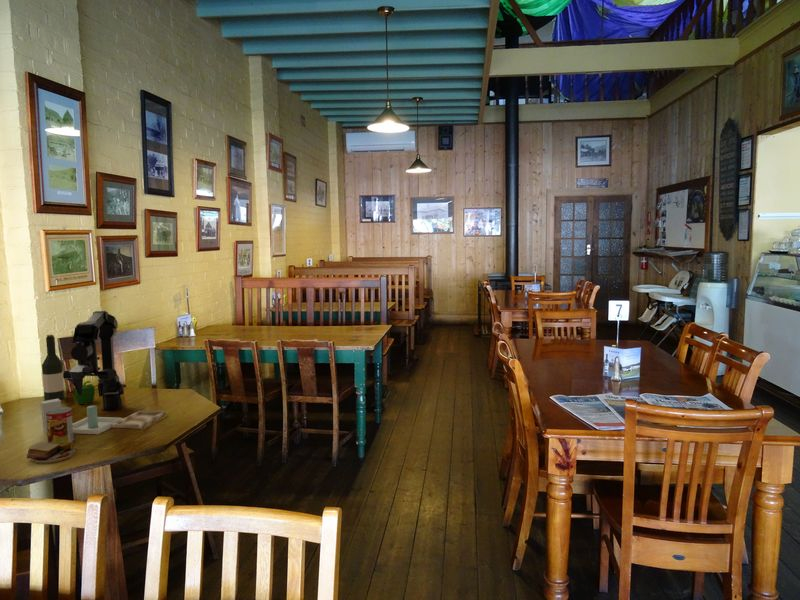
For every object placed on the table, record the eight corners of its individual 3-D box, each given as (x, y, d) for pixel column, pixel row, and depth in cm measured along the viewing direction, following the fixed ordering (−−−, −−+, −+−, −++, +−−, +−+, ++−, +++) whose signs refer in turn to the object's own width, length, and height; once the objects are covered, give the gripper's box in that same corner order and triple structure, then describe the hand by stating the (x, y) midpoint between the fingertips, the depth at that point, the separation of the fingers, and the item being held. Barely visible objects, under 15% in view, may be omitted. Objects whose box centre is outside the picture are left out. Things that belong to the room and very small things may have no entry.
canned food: (50, 440, 207) (47, 408, 206) (75, 437, 210) (72, 406, 209) (46, 447, 200) (44, 414, 198) (72, 444, 203) (69, 411, 201)
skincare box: (60, 428, 221) (58, 398, 220) (63, 430, 218) (61, 400, 217) (42, 432, 217) (40, 401, 215) (45, 434, 214) (43, 403, 212)
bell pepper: (72, 406, 251) (70, 384, 250) (77, 401, 259) (76, 379, 257) (92, 405, 252) (91, 383, 251) (98, 400, 260) (96, 378, 259)
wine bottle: (58, 401, 259) (53, 336, 256) (40, 401, 259) (35, 336, 256) (69, 396, 267) (64, 333, 264) (51, 396, 267) (46, 333, 264)
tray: (141, 429, 218) (140, 425, 218) (112, 428, 219) (111, 424, 219) (166, 415, 236) (166, 411, 235) (139, 414, 237) (139, 410, 237)
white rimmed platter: (61, 434, 214) (61, 428, 214) (88, 421, 229) (88, 416, 229) (98, 435, 212) (98, 430, 212) (122, 422, 227) (122, 417, 227)
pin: (86, 428, 219) (84, 408, 218) (92, 425, 222) (90, 405, 221) (94, 428, 218) (92, 408, 218) (100, 425, 222) (98, 405, 221)
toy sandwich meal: (57, 465, 184) (56, 451, 183) (19, 464, 186) (18, 450, 185) (83, 451, 196) (82, 438, 196) (48, 450, 198) (47, 437, 198)
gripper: (51, 359, 211) (54, 400, 212) (97, 360, 208) (100, 401, 210) (71, 353, 222) (74, 392, 223) (116, 354, 219) (118, 393, 221)
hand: (91, 395), depth 219 cm, fingers open, 9 cm apart
